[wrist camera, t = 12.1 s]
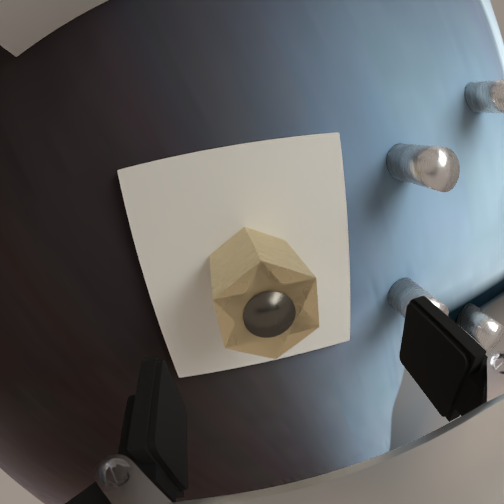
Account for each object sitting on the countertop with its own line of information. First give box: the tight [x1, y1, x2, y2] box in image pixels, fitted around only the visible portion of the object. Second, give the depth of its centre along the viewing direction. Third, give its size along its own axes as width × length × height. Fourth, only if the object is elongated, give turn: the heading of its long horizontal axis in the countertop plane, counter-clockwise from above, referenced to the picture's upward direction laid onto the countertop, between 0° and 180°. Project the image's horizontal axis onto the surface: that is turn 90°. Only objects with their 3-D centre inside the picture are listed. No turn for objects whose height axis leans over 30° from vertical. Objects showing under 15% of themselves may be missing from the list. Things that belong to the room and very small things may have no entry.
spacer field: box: [387, 80, 504, 350], centre depth 21 cm, size 25×22×5 cm
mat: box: [117, 132, 350, 378], centre depth 21 cm, size 16×14×1 cm
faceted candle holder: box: [209, 226, 319, 359], centre depth 18 cm, size 6×5×6 cm
